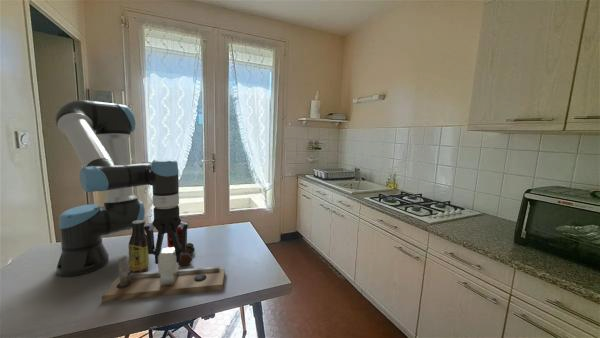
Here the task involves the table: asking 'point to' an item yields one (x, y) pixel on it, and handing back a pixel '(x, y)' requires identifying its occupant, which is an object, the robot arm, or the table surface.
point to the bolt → (187, 256)
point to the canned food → (179, 233)
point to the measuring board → (150, 285)
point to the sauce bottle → (138, 248)
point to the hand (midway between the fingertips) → (168, 271)
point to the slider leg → (167, 267)
